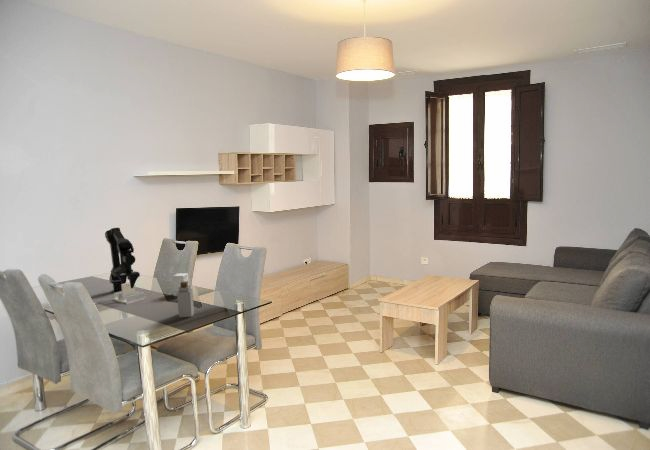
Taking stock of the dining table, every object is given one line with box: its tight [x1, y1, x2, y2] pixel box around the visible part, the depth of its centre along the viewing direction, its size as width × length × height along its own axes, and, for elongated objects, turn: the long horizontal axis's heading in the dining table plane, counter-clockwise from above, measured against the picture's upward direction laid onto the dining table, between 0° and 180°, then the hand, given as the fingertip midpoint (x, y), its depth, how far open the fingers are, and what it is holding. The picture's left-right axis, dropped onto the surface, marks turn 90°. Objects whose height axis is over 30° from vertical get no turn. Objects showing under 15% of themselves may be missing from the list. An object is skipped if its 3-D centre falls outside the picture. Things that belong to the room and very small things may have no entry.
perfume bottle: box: [176, 282, 195, 318], centre depth 264 cm, size 7×7×18 cm
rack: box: [112, 290, 146, 305], centre depth 298 cm, size 15×12×4 cm
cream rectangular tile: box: [121, 281, 136, 295], centre depth 298 cm, size 2×7×9 cm, turn 142°
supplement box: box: [172, 272, 190, 297], centre depth 305 cm, size 7×7×13 cm
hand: (128, 287), depth 298 cm, fingers open, 8 cm apart
